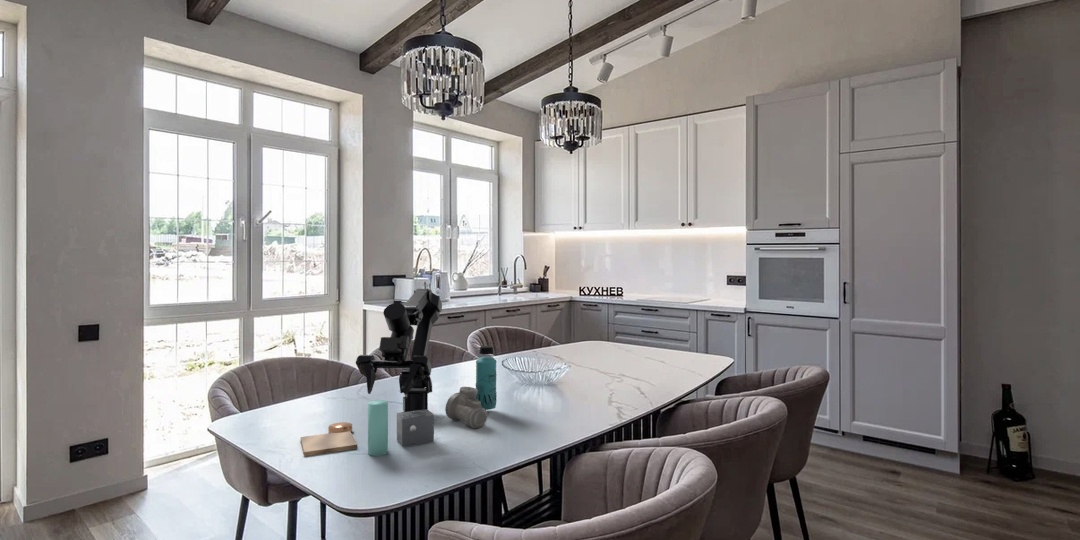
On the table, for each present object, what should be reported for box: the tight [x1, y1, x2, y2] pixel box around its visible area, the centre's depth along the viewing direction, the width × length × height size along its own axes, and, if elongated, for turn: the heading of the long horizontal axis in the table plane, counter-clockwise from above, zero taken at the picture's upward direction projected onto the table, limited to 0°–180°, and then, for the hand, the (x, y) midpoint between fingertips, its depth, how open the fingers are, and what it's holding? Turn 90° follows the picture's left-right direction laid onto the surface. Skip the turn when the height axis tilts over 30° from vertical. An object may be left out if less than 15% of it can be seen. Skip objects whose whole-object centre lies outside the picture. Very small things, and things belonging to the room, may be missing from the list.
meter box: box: [396, 409, 435, 448], centre depth 141 cm, size 8×7×7 cm
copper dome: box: [327, 421, 353, 434], centre depth 149 cm, size 6×6×2 cm
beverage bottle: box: [474, 345, 498, 411], centre depth 168 cm, size 6×7×20 cm
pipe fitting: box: [444, 386, 488, 429], centre depth 156 cm, size 12×8×10 cm
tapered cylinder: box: [367, 399, 389, 457], centre depth 133 cm, size 5×5×12 cm
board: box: [300, 431, 358, 457], centre depth 139 cm, size 12×12×1 cm
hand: (386, 393), depth 140 cm, fingers open, 9 cm apart
